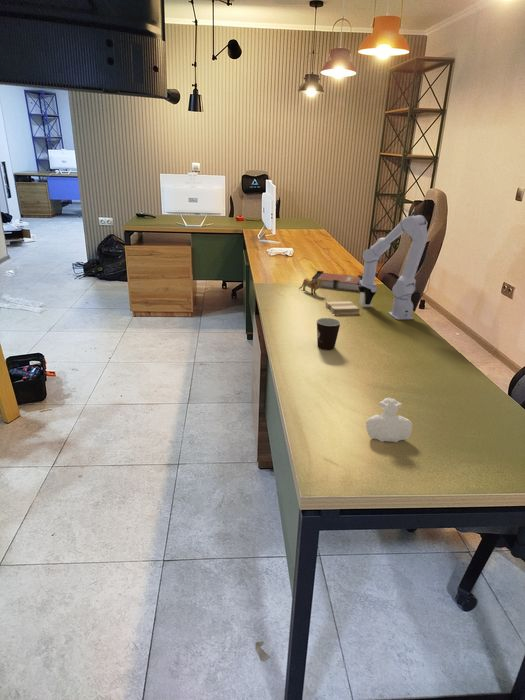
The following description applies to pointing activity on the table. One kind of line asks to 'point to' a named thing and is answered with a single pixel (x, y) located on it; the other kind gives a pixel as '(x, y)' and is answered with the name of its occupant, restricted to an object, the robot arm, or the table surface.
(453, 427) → the table surface
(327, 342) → the coffee mug
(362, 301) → the white block
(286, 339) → the table surface
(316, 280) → the lion figurine
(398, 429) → the bust
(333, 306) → the oak block
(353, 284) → the book
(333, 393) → the table surface
